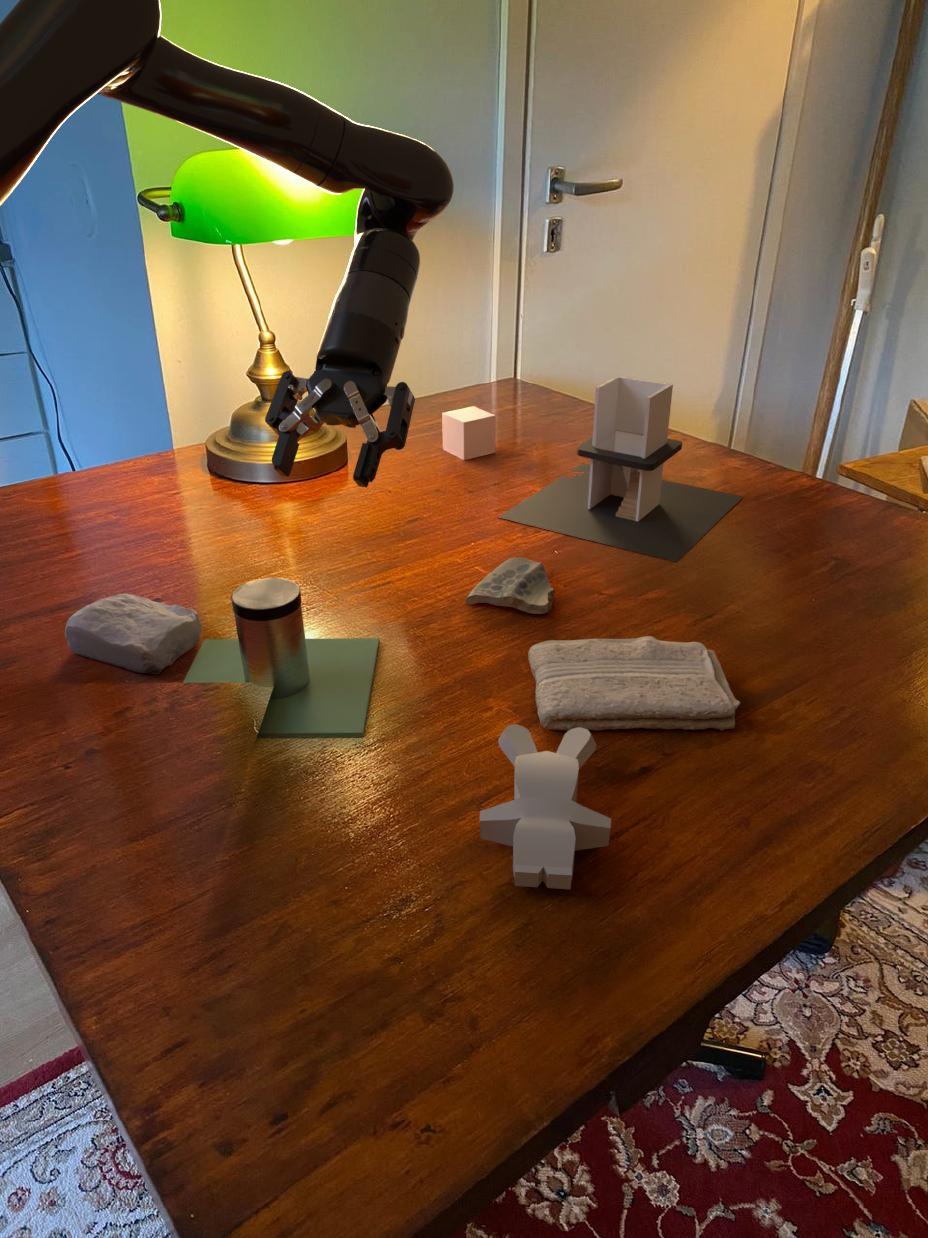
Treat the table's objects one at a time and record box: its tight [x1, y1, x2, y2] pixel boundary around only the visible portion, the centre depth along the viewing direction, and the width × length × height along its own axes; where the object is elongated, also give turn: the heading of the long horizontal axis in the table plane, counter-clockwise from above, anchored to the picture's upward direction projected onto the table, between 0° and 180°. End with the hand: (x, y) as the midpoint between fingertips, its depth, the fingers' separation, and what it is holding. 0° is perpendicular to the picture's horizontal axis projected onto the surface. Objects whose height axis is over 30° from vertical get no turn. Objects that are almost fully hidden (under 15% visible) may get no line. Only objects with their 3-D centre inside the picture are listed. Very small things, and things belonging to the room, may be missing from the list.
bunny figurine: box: [479, 723, 612, 890], centre depth 68 cm, size 10×5×15 cm
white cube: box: [441, 405, 497, 461], centre depth 142 cm, size 6×6×6 cm
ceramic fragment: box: [465, 556, 555, 615], centre depth 101 cm, size 11×3×10 cm
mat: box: [182, 637, 381, 739], centre depth 86 cm, size 18×16×1 cm
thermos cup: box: [230, 577, 310, 699], centre depth 84 cm, size 6×6×10 cm
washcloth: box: [527, 635, 741, 732], centre depth 83 cm, size 12×18×3 cm, turn 91°
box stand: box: [497, 375, 744, 563], centre depth 119 cm, size 25×24×16 cm
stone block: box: [64, 593, 203, 676], centre depth 92 cm, size 12×5×10 cm
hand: (319, 478), depth 87 cm, fingers open, 8 cm apart
